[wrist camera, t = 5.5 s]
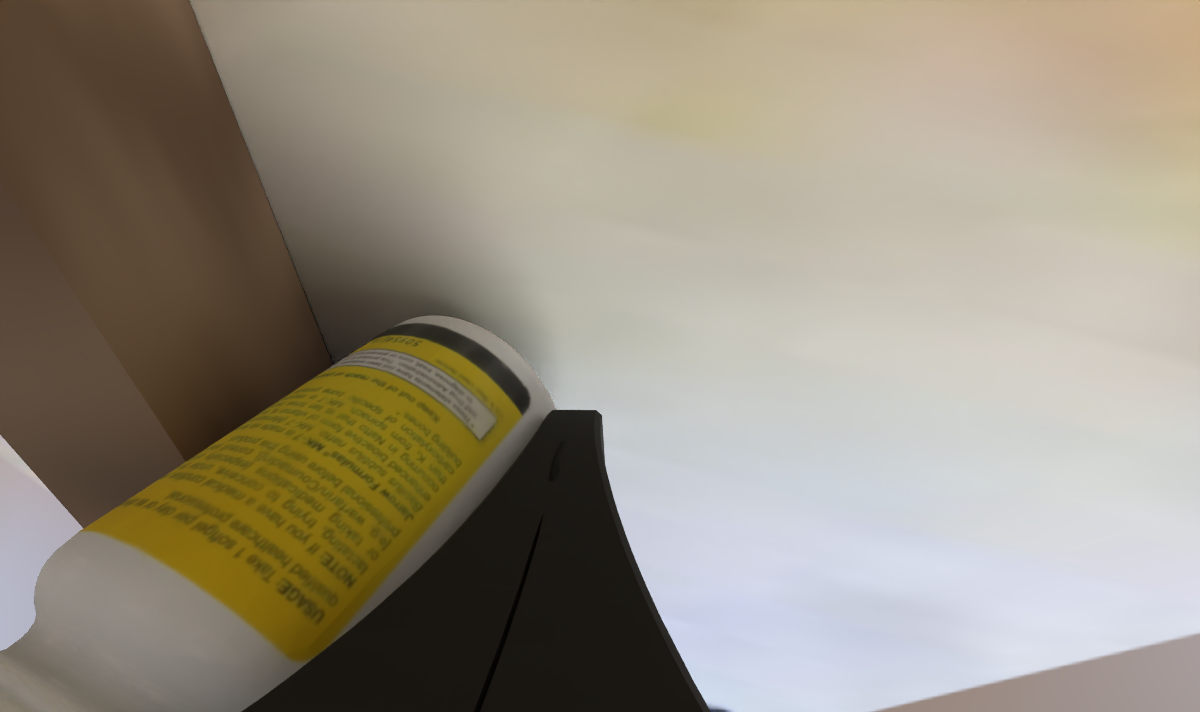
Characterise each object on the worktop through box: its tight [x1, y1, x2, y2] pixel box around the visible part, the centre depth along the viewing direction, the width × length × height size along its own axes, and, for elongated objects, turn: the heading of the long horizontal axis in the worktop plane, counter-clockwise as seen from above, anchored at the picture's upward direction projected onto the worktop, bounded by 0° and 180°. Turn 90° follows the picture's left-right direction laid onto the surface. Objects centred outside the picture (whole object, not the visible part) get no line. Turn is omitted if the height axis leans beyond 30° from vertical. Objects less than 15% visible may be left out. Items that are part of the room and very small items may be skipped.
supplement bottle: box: [0, 315, 556, 712], centre depth 8 cm, size 5×5×8 cm
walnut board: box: [0, 0, 333, 528], centre depth 11 cm, size 22×3×4 cm, turn 3°
